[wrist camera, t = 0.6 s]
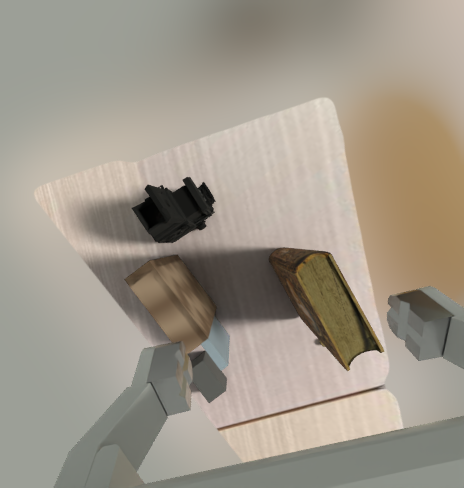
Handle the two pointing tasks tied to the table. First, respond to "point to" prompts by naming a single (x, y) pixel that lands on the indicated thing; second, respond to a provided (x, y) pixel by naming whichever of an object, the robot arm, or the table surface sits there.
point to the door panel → (218, 344)
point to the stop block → (208, 377)
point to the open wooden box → (174, 300)
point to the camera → (175, 210)
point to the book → (325, 302)
